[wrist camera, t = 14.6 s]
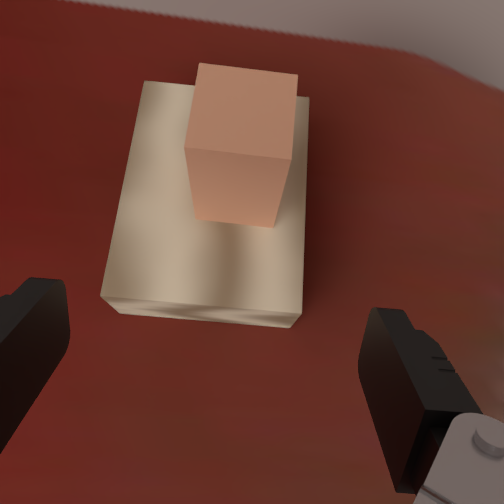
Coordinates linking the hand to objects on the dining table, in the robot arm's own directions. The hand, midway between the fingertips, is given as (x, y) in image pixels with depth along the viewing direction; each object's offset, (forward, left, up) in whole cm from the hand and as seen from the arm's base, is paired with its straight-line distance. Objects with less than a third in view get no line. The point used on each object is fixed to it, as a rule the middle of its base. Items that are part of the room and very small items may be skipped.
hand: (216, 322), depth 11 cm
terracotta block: (0, +11, -14) cm, 18 cm away
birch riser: (-1, +11, -19) cm, 22 cm away
